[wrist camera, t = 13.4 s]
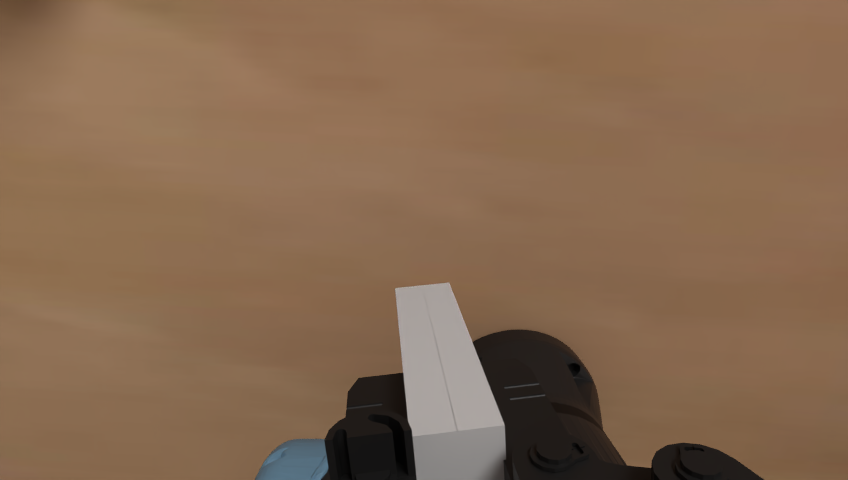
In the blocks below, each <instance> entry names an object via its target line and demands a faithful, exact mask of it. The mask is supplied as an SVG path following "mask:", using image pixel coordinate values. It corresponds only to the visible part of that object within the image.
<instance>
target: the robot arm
mask: <svg viewBox="0 0 848 480" xmlns="http://www.w3.org/2000/svg"><path fill="white" fill-rule="evenodd" d="M395 291H396V301H397V312H398V322H399V333H400V343H401V354H402V364H403V373H398V374H389V375H380V376H372V377H363V378H358V380H357V381H356V382H355V383H354V385H353V386H352V387H351V389H350V390H349V391H348V398H347V410H346V418H344V419H342V420H340V421H338V422H337V423H336V424H335V425H334V426H333V427H332V428H331V429H330V430H329V431H328V434H327V436H326V438H325V439H293V440H289V441H287V442H284V443H283V444H281V445H279V446H278V447H277V448H276V449H274V450H273V451H272V452H271V454H270V455H269V456H268V457H267V458H266V460H265V462H264V463H263V465H262V466H261V468H260V470H259V472H258V474H257V476H256V478H255V480H764V479H762V478H761V477H759V476H758V475H757V474H755V473H754V472H752V471H751V470H750V469H748V468H747V467H745V466H744V465H743V464H741V463H740V462H738V461H737V460H736V459H734V458H732V457H730V456H728V455H727V454H725V453H723V452H721V451H719V450H717V449H713V448H710V447H707V446H704V445H700V444H690V443H678V444H672V445H667V446H665V447H663V448H662V449H660V450H658V451H656V453H655V455H654V457H653V460H652V468H644V467H635V466H627V465H626V463H625V462H624V460H623V459H622V457H621V456H620V454H619V453H618V451H617V450H616V449H615V447H614V446H613V444H612V443H611V441H610V440H609V438H608V437H607V436H606V434H605V432H604V431H603V426H602V419H601V413H600V406H599V399H598V394H597V390H596V386H595V384H594V381H593V379H592V377H591V375H590V373H589V372H588V370H587V368H586V367H585V366H584V364H583V363H582V362H581V360H580V359H579V358H578V356H577V355H576V354H575V353H574V352H573V351H572V350H571V349H570V348H569V347H568V346H567V345H565V344H564V343H563V342H561V341H559V340H558V339H556V338H554V337H552V336H549V335H547V334H544V333H540V332H536V331H530V330H507V331H501V332H497V333H493V334H490V335H487V336H484V337H482V338H480V339H477V340H476V341H474V342H472V340H471V337H470V335H469V332H468V330H467V327H466V325H465V322H464V320H463V317H462V314H461V312H460V309H459V307H458V304H457V302H456V299H455V296H454V294H453V291H452V289H451V286H450V284H449V283H441V284H432V285H422V286H413V287H403V288H395Z"/></svg>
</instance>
